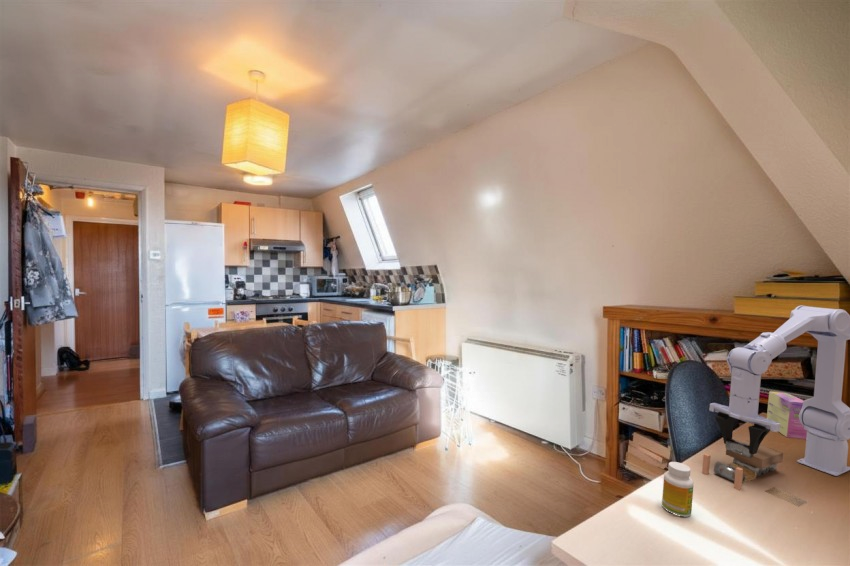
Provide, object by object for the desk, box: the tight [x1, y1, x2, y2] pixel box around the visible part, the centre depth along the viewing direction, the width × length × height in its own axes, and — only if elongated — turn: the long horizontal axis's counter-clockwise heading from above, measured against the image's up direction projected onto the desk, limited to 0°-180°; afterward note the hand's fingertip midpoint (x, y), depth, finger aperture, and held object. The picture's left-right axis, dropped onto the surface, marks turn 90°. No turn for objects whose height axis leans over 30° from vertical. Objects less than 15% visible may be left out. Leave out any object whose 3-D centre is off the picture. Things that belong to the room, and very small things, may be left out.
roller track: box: [713, 458, 809, 507], centre depth 98 cm, size 19×16×3 cm
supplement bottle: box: [661, 461, 694, 518], centre depth 85 cm, size 5×5×10 cm
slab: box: [725, 439, 784, 469], centre depth 104 cm, size 10×8×2 cm
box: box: [766, 391, 807, 440], centre depth 130 cm, size 10×6×12 cm, turn 168°
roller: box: [724, 438, 754, 458], centre depth 101 cm, size 5×3×3 cm, turn 26°
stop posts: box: [701, 453, 743, 491], centre depth 98 cm, size 1×8×5 cm, turn 26°
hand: (739, 448), depth 101 cm, fingers closed on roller, 5 cm apart
